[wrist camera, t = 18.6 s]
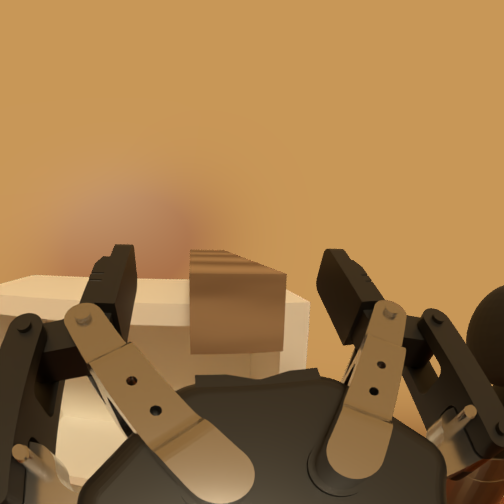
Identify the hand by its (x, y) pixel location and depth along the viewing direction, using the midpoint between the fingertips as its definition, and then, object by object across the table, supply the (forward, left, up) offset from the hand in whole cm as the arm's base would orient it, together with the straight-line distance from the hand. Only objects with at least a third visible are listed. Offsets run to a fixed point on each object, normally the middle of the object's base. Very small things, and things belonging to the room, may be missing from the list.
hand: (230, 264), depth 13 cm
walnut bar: (-6, -7, -3) cm, 10 cm away
